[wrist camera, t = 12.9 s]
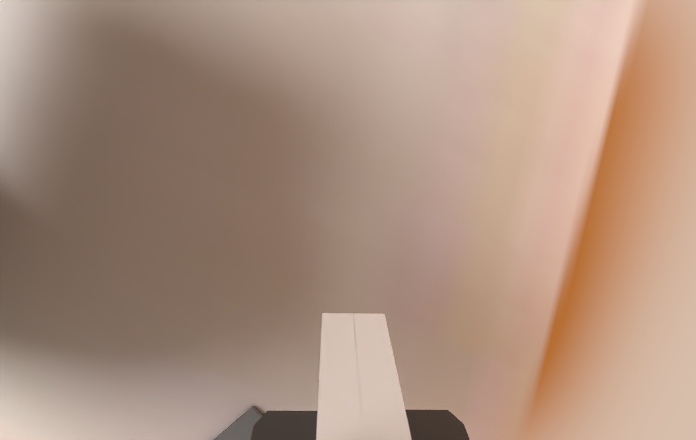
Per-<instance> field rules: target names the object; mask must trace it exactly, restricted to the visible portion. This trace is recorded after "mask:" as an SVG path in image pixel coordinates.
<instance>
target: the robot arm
mask: <svg viewBox="0 0 696 440" xmlns="http://www.w3.org/2000/svg"><path fill="white" fill-rule="evenodd" d="M250 440H469V437H468V434H467V432H466V429H465V426H464V424H463V423H462V422H461V421H460V420H458V419H457V418H456V417H455V416H454V415H453V414H452V413H451V412H449V411H448V410H405V406H404V402H403V397H402V392H401V388H400V383H399V378H398V374H397V369H396V364H395V360H394V355H393V351H392V346H391V341H390V337H389V332H388V327H387V323H386V318H385V314H366V313H322V326H321V348H320V369H319V390H318V411H267V412H266V413H265V414H264V415H263V416H262V417H261V418H260V419H259V420H258V421H257V422H256V423H255V424H254V426H253V431H252V435H251V439H250Z"/></svg>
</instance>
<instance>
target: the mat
mask: <svg viewBox="0 0 696 440" xmlns="http://www.w3.org/2000/svg"><path fill="white" fill-rule="evenodd" d="M262 416H263V415H262V414H261V413H260V412H259V411H258V410H257V409H256V408H255V407H254V406H253V407H252V408H250V409H249V410H248V411H247V412H246V413H245V414H243V415H242V416H241V417H240V418H239V419H238V420H236V421H235V422H234V423H233V424H232V425H230V426H229V427H228V428H227V429H226V430H225V431H223V432H222V433H221V434H220V435H219V436H218V437H216V438H215V439H214V440H250V439H251V435H252V431H253V426H254V424H255V423H256V422H257V421H258V420H259V419H260V418H261V417H262Z"/></svg>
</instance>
